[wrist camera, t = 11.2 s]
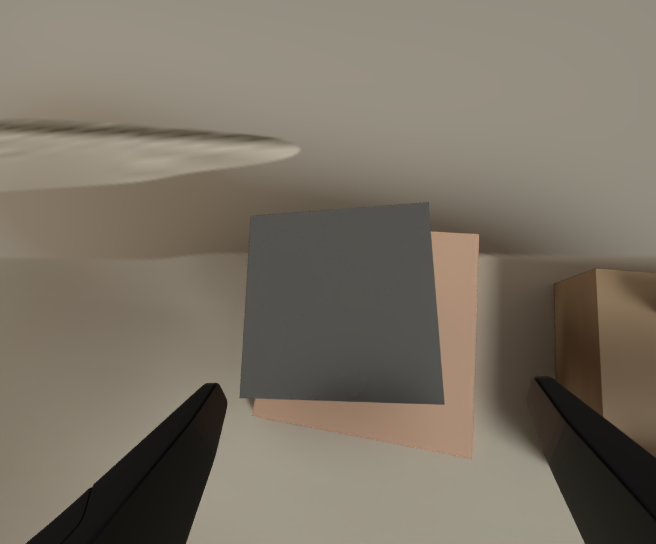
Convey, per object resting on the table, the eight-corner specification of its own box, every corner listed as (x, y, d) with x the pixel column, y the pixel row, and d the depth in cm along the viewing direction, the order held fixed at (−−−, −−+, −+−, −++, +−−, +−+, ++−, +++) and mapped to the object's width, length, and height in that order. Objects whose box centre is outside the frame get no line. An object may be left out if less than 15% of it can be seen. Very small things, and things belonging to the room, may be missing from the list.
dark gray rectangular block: (409, 368, 14) (444, 404, 6) (324, 367, 15) (239, 397, 6) (403, 271, 15) (426, 176, 7) (324, 274, 16) (252, 192, 7)
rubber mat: (468, 454, 14) (471, 458, 13) (257, 413, 16) (252, 415, 15) (475, 238, 16) (478, 234, 15) (287, 227, 18) (284, 222, 17)
